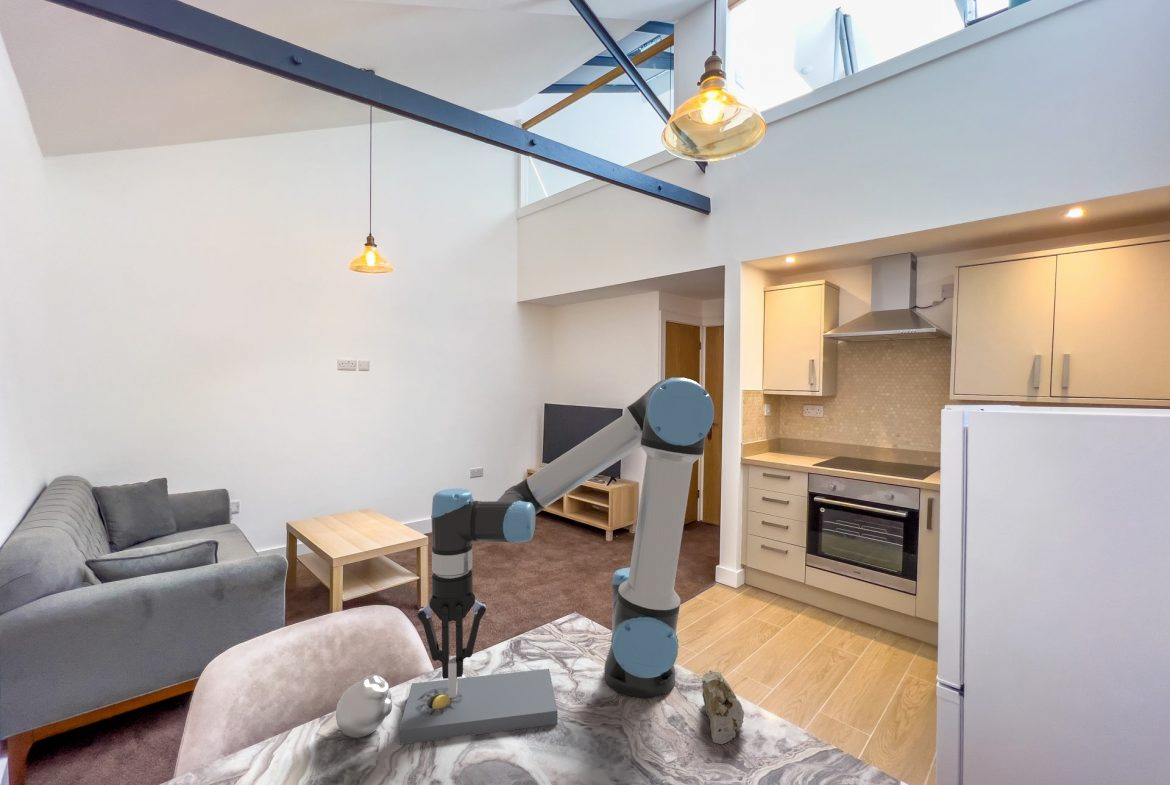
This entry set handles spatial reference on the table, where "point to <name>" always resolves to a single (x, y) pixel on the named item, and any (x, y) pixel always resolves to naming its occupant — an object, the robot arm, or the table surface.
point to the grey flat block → (479, 706)
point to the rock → (721, 707)
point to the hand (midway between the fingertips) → (452, 693)
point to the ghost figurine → (364, 706)
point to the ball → (440, 702)
